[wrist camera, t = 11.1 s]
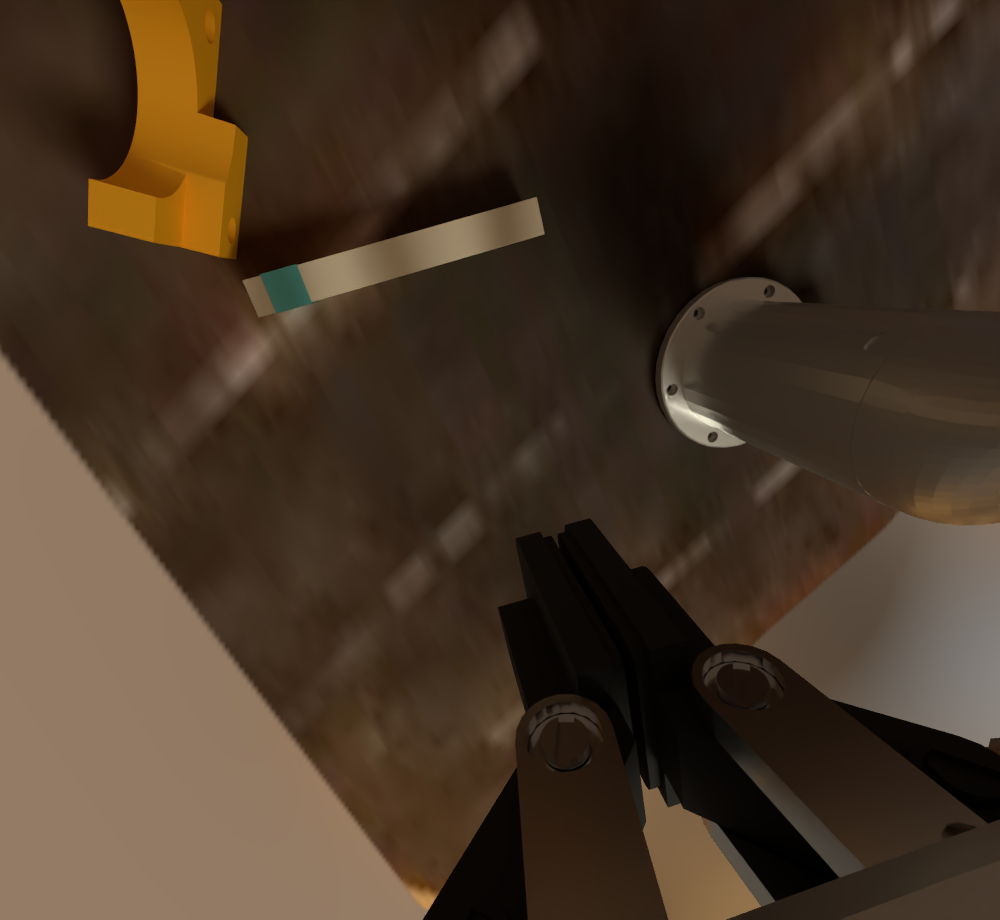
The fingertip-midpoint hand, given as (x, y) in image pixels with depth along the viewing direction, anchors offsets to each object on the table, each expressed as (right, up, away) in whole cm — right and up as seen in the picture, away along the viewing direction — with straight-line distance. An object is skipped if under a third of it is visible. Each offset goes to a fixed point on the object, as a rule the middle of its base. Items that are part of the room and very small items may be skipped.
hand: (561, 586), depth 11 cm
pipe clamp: (-17, +21, +16) cm, 32 cm away
